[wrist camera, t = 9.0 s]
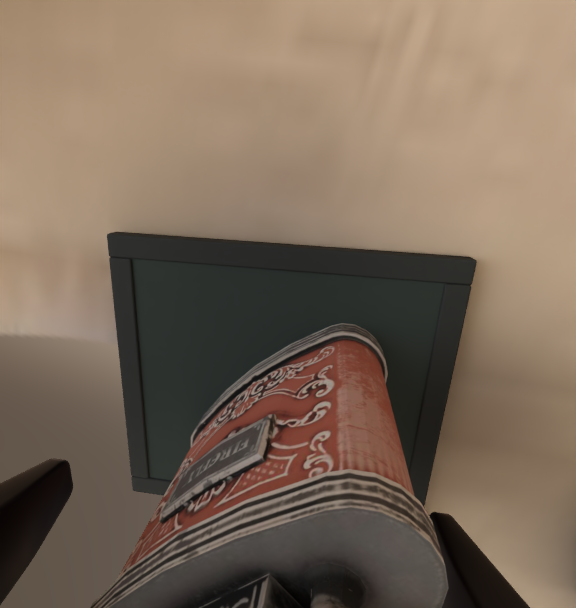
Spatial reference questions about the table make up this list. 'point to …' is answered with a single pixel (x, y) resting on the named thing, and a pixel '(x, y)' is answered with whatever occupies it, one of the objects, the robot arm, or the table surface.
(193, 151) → the table surface
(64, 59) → the table surface
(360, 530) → the lighter
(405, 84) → the table surface
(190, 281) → the desk mat
